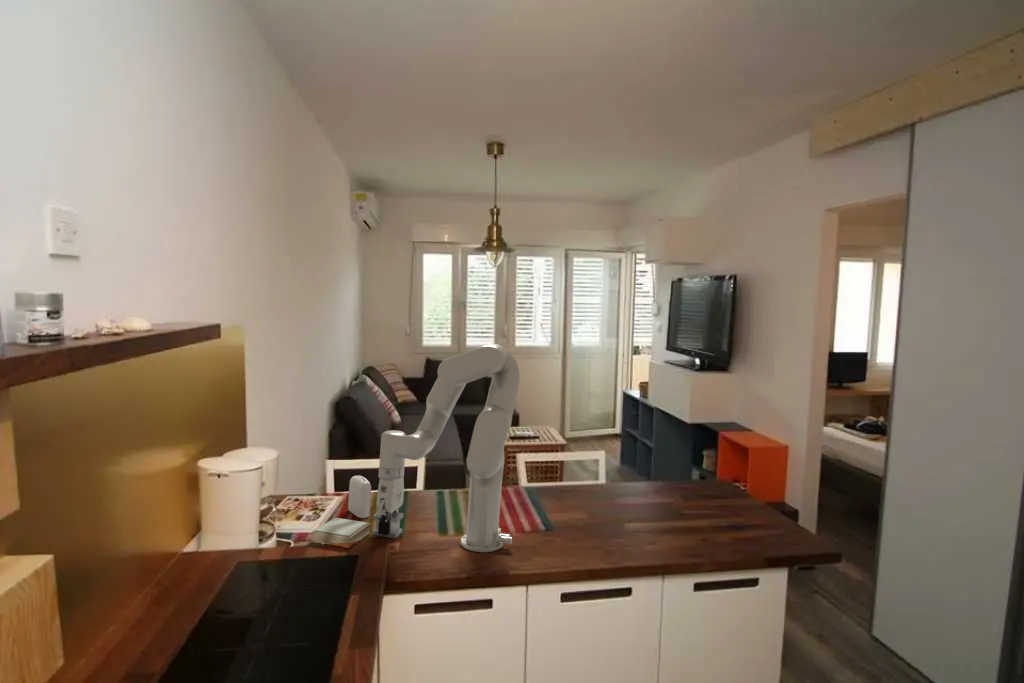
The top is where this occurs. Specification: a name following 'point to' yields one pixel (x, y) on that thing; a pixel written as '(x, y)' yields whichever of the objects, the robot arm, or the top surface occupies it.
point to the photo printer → (359, 496)
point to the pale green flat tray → (340, 531)
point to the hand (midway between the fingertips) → (387, 530)
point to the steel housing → (390, 525)
